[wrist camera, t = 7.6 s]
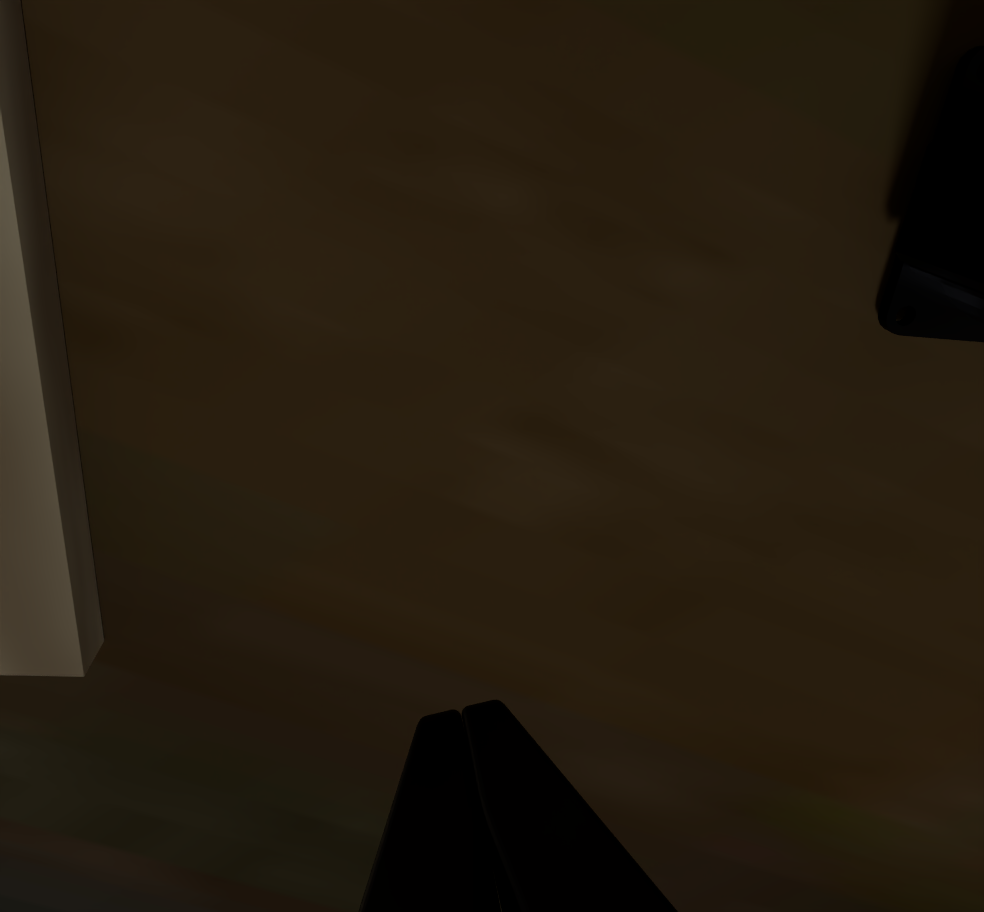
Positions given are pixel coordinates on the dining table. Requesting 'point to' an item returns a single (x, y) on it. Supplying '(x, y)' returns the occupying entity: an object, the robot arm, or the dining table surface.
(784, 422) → the dining table surface
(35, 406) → the key board
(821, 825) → the dining table surface
